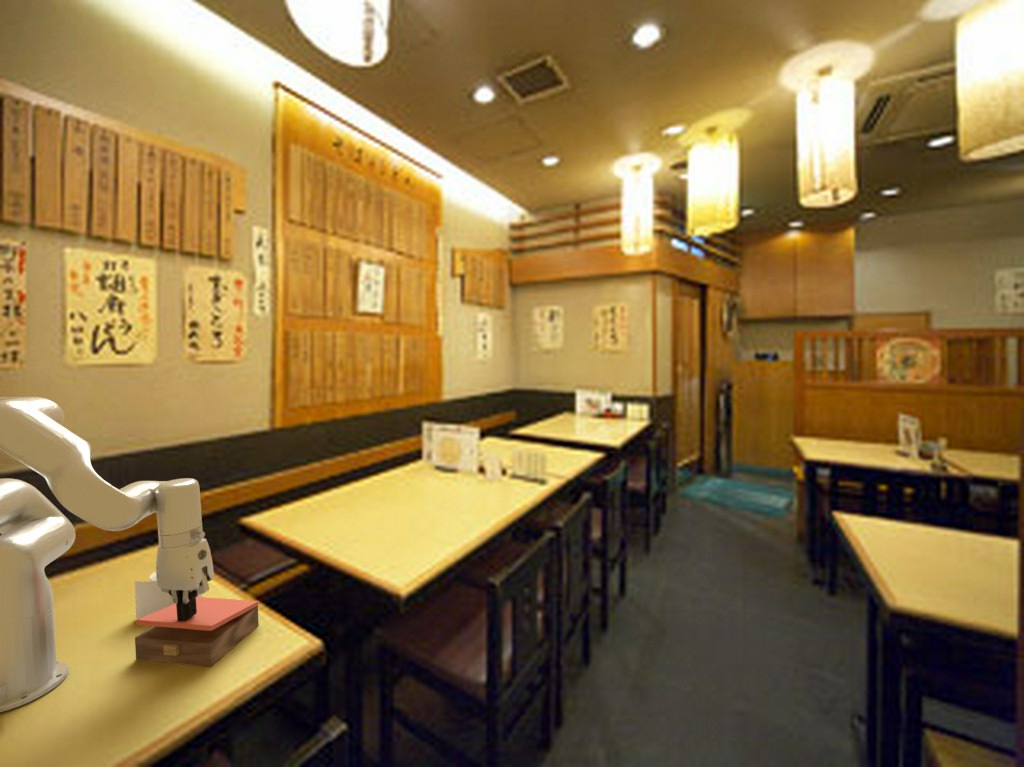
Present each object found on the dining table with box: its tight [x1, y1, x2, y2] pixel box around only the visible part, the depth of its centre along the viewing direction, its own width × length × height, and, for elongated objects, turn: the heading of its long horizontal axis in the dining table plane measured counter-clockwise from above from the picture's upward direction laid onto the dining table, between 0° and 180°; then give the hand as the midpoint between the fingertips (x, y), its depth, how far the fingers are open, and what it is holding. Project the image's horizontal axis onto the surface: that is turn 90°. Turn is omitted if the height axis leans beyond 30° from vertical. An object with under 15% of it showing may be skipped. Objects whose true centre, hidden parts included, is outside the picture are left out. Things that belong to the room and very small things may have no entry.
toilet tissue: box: [134, 570, 203, 619], centre depth 109 cm, size 11×12×10 cm
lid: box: [135, 596, 259, 631], centre depth 96 cm, size 14×18×1 cm
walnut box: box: [134, 605, 260, 668], centre depth 96 cm, size 15×18×5 cm
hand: (187, 617), depth 92 cm, fingers closed
